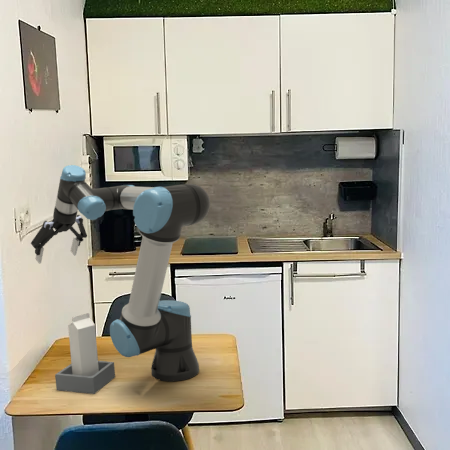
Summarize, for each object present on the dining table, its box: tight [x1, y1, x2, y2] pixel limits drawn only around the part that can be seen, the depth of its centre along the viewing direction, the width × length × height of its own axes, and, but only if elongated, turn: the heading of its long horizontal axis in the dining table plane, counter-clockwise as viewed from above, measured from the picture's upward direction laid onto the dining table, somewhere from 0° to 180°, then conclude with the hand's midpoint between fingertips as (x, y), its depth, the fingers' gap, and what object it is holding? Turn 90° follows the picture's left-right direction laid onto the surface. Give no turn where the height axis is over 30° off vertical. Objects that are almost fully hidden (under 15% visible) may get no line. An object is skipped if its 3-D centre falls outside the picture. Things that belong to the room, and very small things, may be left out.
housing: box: [54, 360, 116, 395], centre depth 193 cm, size 13×13×5 cm
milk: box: [67, 312, 99, 376], centre depth 191 cm, size 6×6×22 cm
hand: (56, 257), depth 218 cm, fingers open, 13 cm apart
